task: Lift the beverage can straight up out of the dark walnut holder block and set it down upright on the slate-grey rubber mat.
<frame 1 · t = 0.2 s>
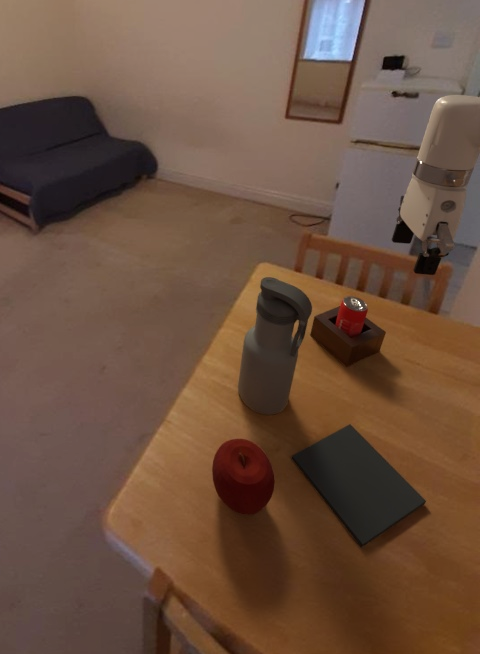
hand: (411, 256, 74), 29 cm above the table, tool pointing down, fingers open, 9 cm apart
beverage can: (343, 343, 94), resting in holder
mat: (354, 480, 68), on the table
water bottle: (262, 395, 83), on the table
holder: (343, 343, 94), on the table
apple: (239, 495, 67), on the table
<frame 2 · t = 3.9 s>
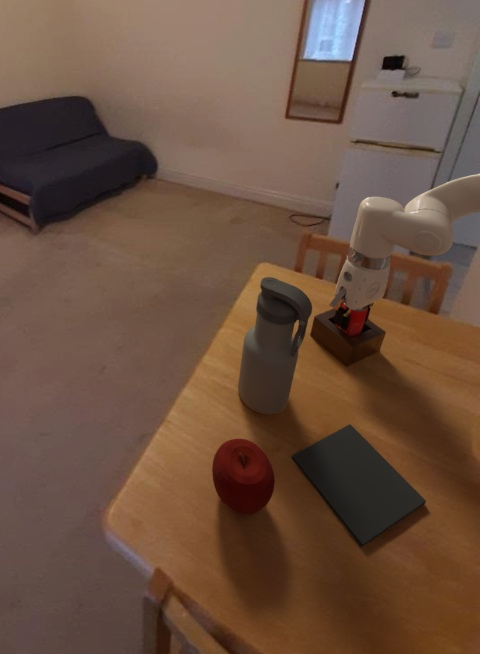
hand: (350, 321, 91), 7 cm above the table, tool pointing down, fingers closed on beverage can, 5 cm apart
beverage can: (343, 343, 94), resting in holder, touching gripper
everything else where it was.
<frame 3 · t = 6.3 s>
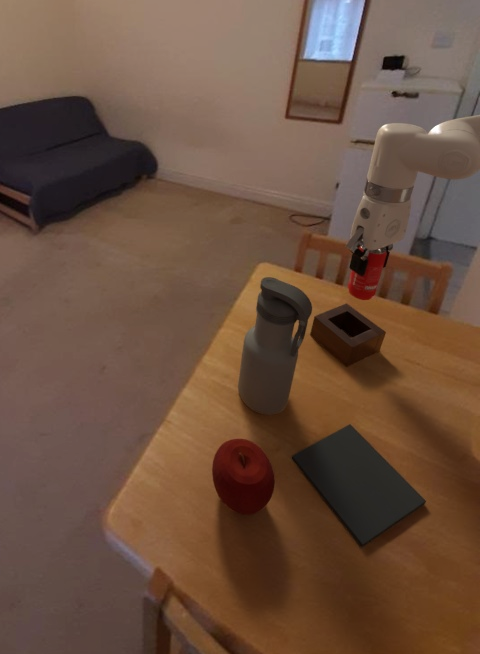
hand: (367, 267, 84), 22 cm above the table, tool pointing down, fingers closed on beverage can, 5 cm apart
beverage can: (360, 293, 87), point 15 cm above the table, touching gripper
everything else where it was.
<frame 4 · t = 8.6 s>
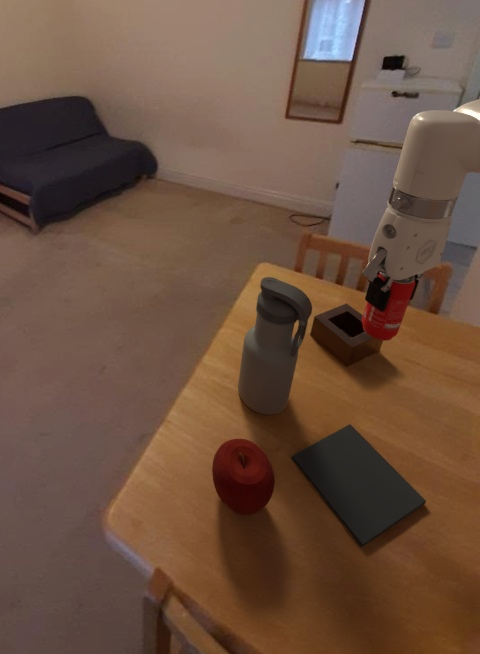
hand: (388, 299, 65), 29 cm above the table, tool pointing down, fingers closed on beverage can, 5 cm apart
beverage can: (377, 331, 68), point 22 cm above the table, touching gripper
everything else where it was.
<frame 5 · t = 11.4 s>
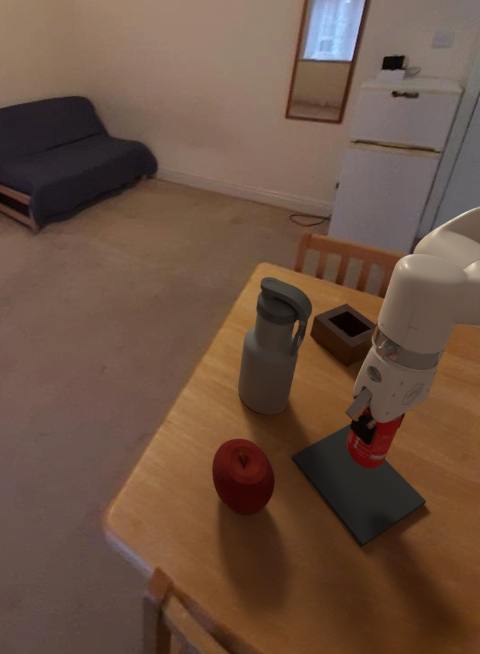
hand: (374, 427, 62), 14 cm above the table, tool pointing down, fingers closed on beverage can, 5 cm apart
beverage can: (363, 454, 65), point 7 cm above the table, touching gripper
everything else where it was.
when the fingers open (8 cm above the table, at t = 13.6 s): beverage can stays where it is, resting on mat.
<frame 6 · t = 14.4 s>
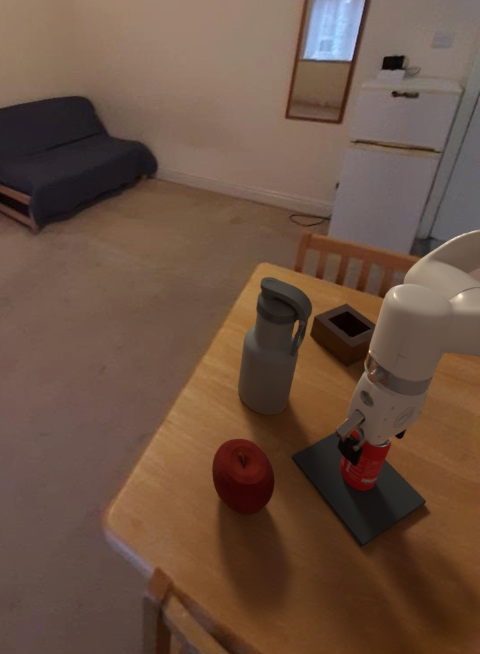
hand: (369, 443, 63), 10 cm above the table, tool pointing down, fingers open, 9 cm apart
beverage can: (355, 477, 67), point 1 cm above the table, touching mat
everything else where it was.
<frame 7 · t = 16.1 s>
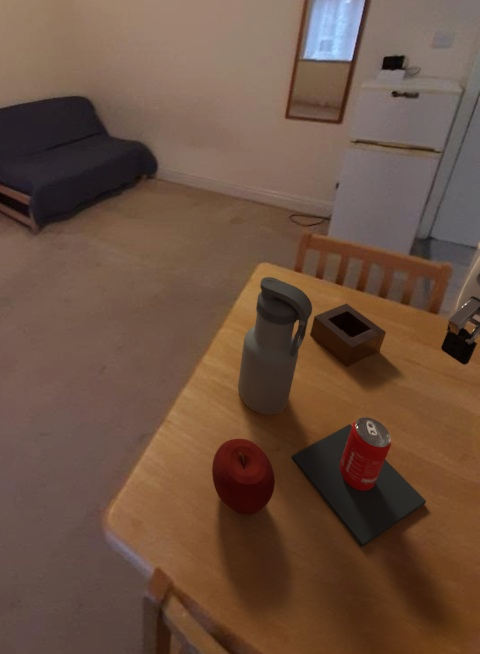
hand: (475, 344, 58), 28 cm above the table, tool pointing down, fingers open, 9 cm apart
nothing on the table moved.
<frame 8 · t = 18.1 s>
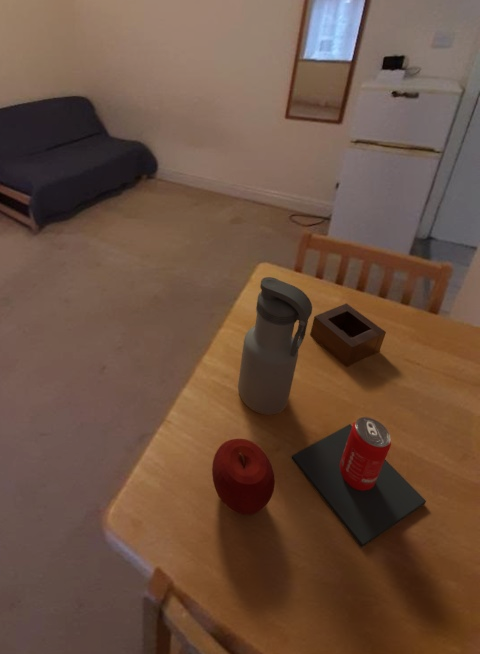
nothing on the table moved.
at the end: beverage can inside the target area on the mat (0.0 cm from its centre), point 0.8 cm above the mat's base; beverage can tilted 0°; beverage can touching mat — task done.
